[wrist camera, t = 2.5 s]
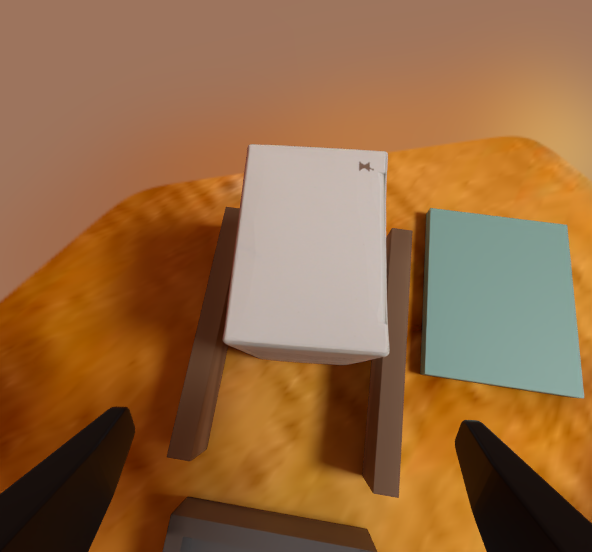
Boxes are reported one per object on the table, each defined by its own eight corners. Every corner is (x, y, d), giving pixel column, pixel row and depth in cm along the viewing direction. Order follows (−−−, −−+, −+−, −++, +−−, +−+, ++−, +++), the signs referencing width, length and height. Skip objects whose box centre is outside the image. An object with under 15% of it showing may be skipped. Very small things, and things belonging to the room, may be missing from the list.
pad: (558, 230, 23) (567, 224, 22) (573, 397, 20) (584, 398, 19) (426, 213, 23) (430, 208, 23) (420, 374, 20) (424, 374, 20)
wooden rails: (398, 249, 23) (412, 230, 20) (383, 479, 19) (398, 497, 16) (235, 227, 23) (226, 206, 20) (186, 445, 19) (166, 457, 16)
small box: (270, 242, 23) (246, 136, 13) (351, 247, 23) (390, 144, 13) (257, 360, 21) (216, 344, 11) (347, 368, 20) (392, 357, 10)
